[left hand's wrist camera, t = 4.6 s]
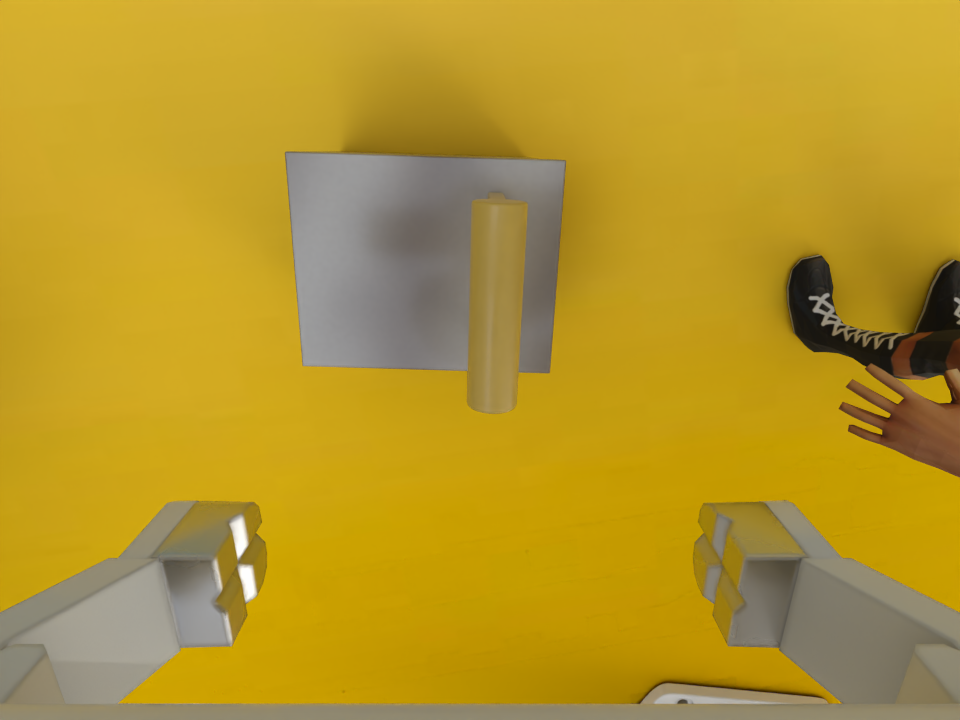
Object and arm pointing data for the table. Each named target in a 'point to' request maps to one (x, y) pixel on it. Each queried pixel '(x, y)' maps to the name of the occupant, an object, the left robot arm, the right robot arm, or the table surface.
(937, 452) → the figurine
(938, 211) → the table surface
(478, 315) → the lid
